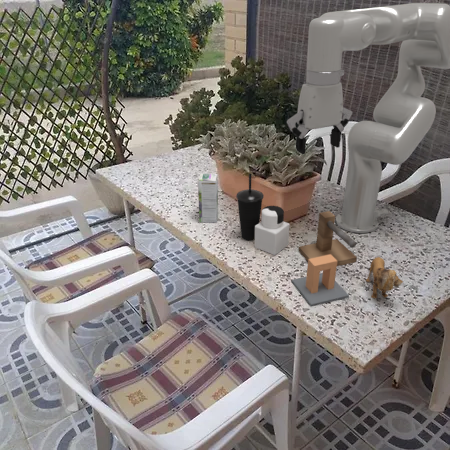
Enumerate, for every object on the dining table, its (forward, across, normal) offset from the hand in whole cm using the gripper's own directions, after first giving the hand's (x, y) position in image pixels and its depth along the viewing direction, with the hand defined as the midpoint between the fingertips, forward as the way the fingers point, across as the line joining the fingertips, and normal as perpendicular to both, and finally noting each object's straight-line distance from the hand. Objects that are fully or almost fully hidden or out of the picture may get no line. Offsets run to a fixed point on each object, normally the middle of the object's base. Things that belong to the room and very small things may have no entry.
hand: (317, 149), depth 105 cm
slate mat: (+29, +8, +18) cm, 35 cm away
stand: (+29, -1, +9) cm, 30 cm away
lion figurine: (+29, -5, +23) cm, 38 cm away
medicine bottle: (+29, +10, -4) cm, 31 cm away
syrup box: (+29, +21, -27) cm, 45 cm away
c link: (+28, +8, +18) cm, 34 cm away
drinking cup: (+29, +14, -12) cm, 34 cm away
